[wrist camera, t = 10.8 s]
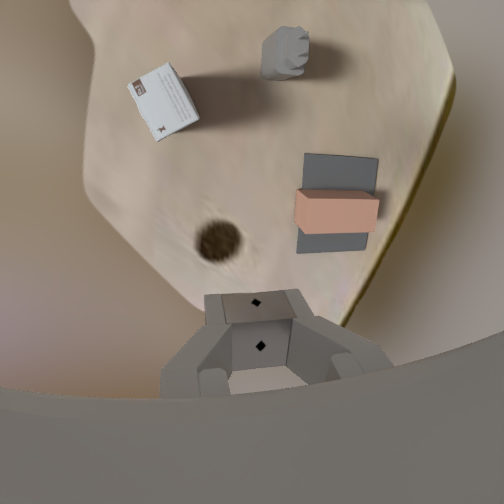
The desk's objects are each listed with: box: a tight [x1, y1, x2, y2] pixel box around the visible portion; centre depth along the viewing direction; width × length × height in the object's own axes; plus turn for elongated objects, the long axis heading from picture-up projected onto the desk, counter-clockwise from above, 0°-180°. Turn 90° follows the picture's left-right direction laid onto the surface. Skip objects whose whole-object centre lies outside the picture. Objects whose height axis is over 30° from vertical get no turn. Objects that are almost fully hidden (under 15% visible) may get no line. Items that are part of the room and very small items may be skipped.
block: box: [294, 189, 379, 234], centre depth 41 cm, size 4×4×10 cm
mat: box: [296, 154, 378, 254], centre depth 43 cm, size 14×11×1 cm
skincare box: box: [127, 62, 200, 142], centre depth 29 cm, size 6×4×12 cm
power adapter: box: [261, 26, 309, 81], centre depth 29 cm, size 3×5×12 cm, turn 177°
